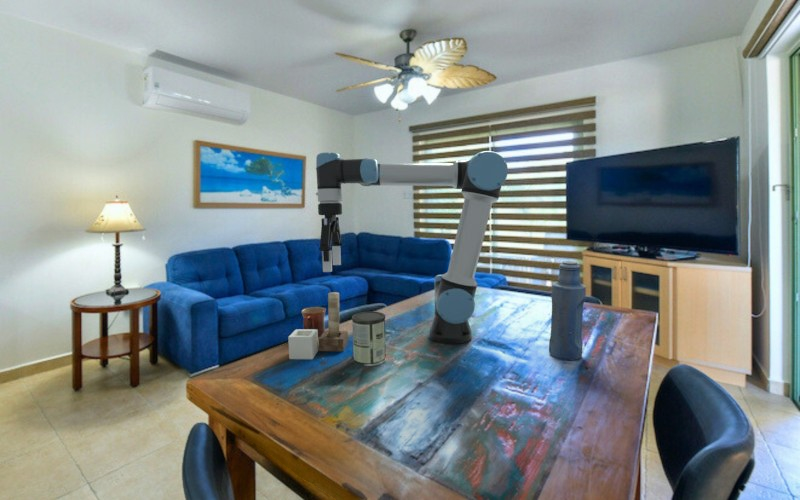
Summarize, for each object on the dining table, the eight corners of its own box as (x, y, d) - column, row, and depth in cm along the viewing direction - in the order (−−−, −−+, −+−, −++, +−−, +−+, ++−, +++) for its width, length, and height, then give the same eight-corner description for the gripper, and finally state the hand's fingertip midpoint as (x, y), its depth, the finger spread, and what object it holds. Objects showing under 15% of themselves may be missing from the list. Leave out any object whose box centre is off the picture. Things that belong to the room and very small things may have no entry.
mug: (308, 332, 143) (307, 306, 142) (330, 334, 142) (329, 307, 140) (293, 343, 132) (292, 315, 130) (317, 345, 130) (316, 316, 129)
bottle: (556, 346, 127) (559, 258, 123) (587, 354, 120) (591, 261, 116) (543, 355, 120) (547, 261, 116) (575, 363, 113) (580, 265, 109)
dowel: (329, 344, 128) (329, 292, 126) (340, 344, 128) (340, 292, 126) (327, 348, 124) (327, 294, 123) (338, 348, 124) (337, 294, 123)
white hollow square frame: (318, 353, 123) (317, 329, 122) (312, 362, 116) (311, 337, 115) (296, 352, 123) (295, 329, 122) (289, 362, 116) (288, 337, 115)
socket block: (348, 345, 130) (347, 331, 129) (343, 354, 122) (343, 339, 121) (325, 344, 130) (324, 330, 130) (319, 353, 122) (318, 339, 122)
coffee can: (361, 351, 124) (360, 310, 122) (390, 355, 121) (390, 312, 119) (347, 364, 114) (345, 319, 113) (378, 368, 111) (377, 322, 109)
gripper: (327, 203, 133) (329, 262, 136) (306, 202, 108) (310, 275, 111) (348, 202, 133) (350, 262, 135) (332, 202, 108) (335, 274, 110)
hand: (332, 268), depth 123 cm, fingers open, 13 cm apart
